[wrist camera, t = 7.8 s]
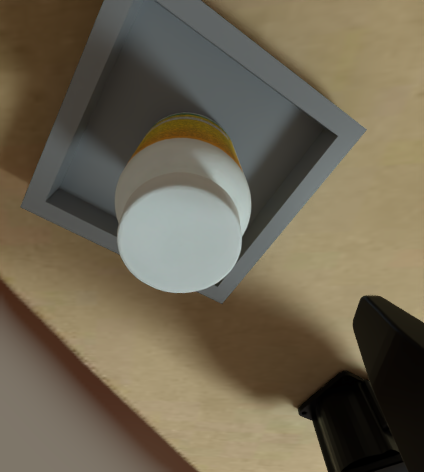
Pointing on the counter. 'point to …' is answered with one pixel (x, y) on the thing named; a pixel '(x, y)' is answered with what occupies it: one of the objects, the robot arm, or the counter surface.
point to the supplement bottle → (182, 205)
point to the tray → (178, 101)
